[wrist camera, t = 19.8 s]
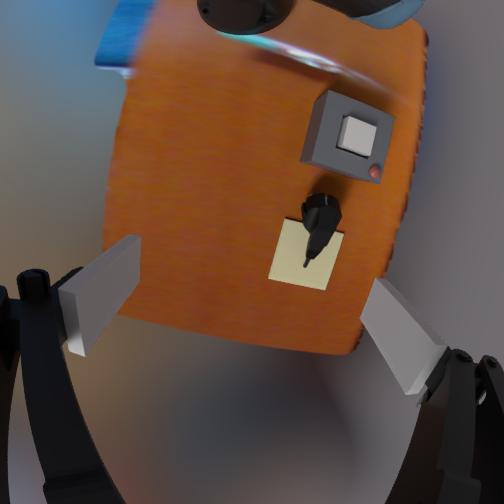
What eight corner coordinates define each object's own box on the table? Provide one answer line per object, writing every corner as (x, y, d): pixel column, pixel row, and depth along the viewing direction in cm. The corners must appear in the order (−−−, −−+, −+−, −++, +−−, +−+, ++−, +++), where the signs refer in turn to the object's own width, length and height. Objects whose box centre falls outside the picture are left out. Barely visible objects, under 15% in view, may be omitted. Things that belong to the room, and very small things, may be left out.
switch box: (314, 101, 37) (329, 88, 29) (372, 123, 38) (396, 116, 30) (299, 161, 40) (312, 160, 32) (358, 180, 41) (381, 184, 33)
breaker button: (338, 120, 33) (349, 116, 30) (364, 130, 34) (376, 127, 30) (332, 146, 35) (342, 145, 31) (358, 156, 35) (370, 155, 31)
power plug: (287, 268, 43) (310, 215, 34) (287, 231, 48) (305, 178, 38) (321, 272, 44) (351, 222, 34) (318, 236, 48) (341, 185, 39)
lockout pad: (284, 218, 42) (284, 218, 42) (343, 233, 43) (343, 234, 43) (268, 277, 45) (268, 278, 45) (324, 289, 46) (325, 290, 46)
